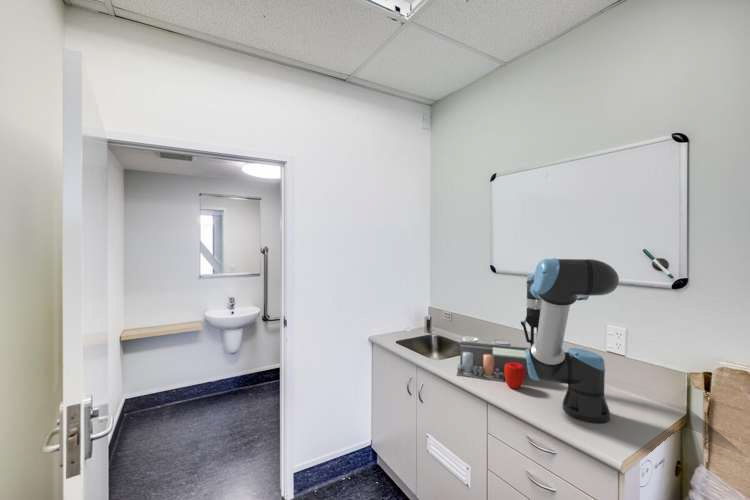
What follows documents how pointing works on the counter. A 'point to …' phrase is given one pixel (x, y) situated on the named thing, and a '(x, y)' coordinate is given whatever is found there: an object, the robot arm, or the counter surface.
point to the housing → (474, 360)
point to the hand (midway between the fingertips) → (535, 357)
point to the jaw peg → (488, 365)
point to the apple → (514, 374)
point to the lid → (509, 353)
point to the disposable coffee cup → (501, 342)
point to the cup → (471, 339)
